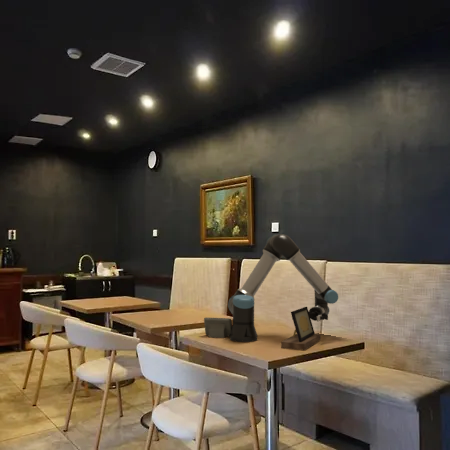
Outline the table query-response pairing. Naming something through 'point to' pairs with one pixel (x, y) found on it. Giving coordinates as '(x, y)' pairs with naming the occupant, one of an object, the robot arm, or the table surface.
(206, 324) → the digital clock
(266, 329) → the table surface
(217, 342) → the table surface
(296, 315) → the picture frame
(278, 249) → the robot arm
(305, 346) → the plinth
